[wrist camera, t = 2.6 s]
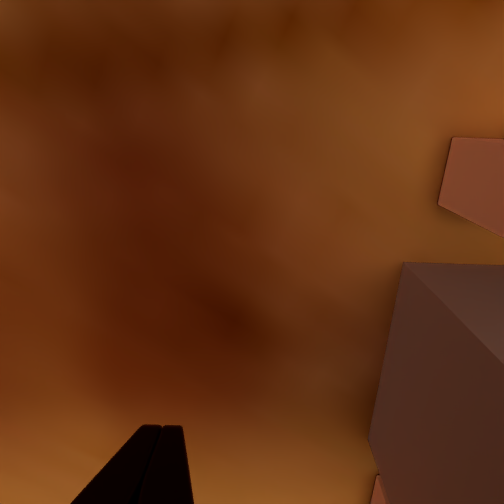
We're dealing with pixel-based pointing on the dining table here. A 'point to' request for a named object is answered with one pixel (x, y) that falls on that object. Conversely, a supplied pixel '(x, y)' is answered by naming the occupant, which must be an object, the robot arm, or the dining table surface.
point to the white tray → (469, 201)
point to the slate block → (443, 388)
